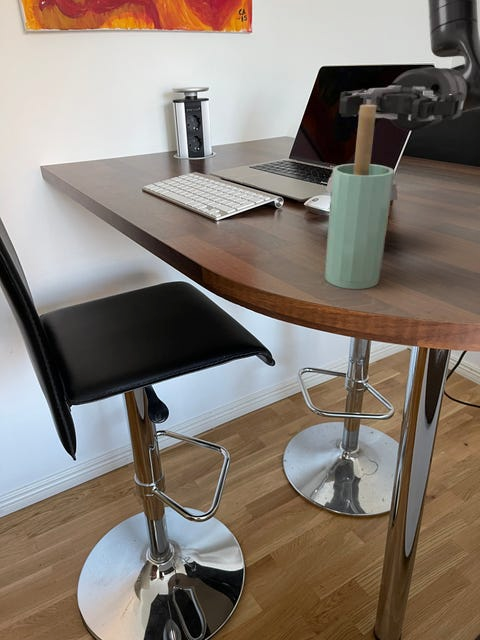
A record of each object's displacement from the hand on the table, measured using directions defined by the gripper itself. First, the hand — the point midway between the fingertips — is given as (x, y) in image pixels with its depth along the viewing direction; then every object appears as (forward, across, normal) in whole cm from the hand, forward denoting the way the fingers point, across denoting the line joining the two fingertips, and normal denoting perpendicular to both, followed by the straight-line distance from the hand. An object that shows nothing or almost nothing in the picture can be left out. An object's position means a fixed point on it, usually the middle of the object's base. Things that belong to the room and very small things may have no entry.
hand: (378, 109), depth 57 cm
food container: (-10, -6, +21) cm, 24 cm away
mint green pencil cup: (+2, 0, +20) cm, 20 cm away
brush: (+2, 0, +20) cm, 20 cm away
